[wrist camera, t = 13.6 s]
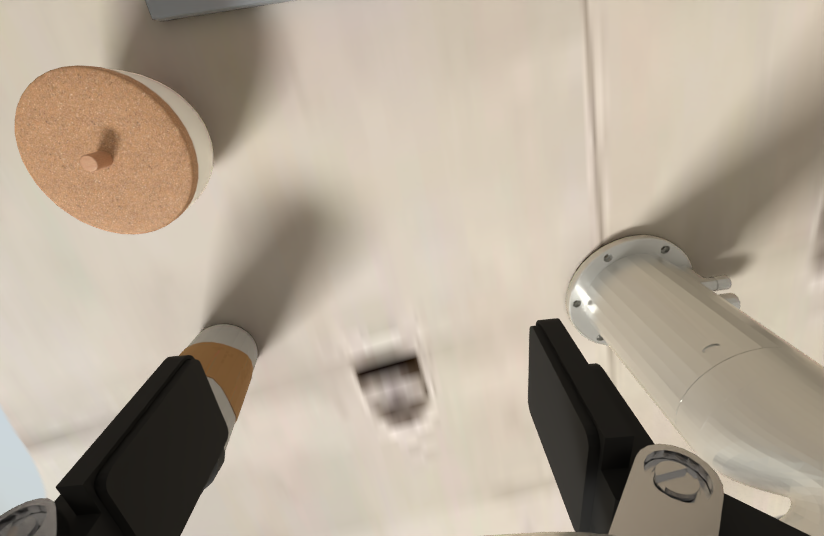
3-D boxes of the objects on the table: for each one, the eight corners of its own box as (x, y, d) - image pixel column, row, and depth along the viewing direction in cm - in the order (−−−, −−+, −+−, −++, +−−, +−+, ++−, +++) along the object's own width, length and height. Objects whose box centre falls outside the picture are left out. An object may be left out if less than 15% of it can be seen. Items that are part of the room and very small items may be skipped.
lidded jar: (73, 67, 30) (-49, 65, 22) (217, 66, 31) (152, 64, 22) (120, 204, 35) (35, 246, 27) (244, 201, 35) (199, 242, 27)
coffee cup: (174, 319, 40) (66, 443, 27) (255, 308, 40) (188, 427, 27) (204, 381, 44) (122, 518, 31) (278, 371, 44) (229, 504, 31)
